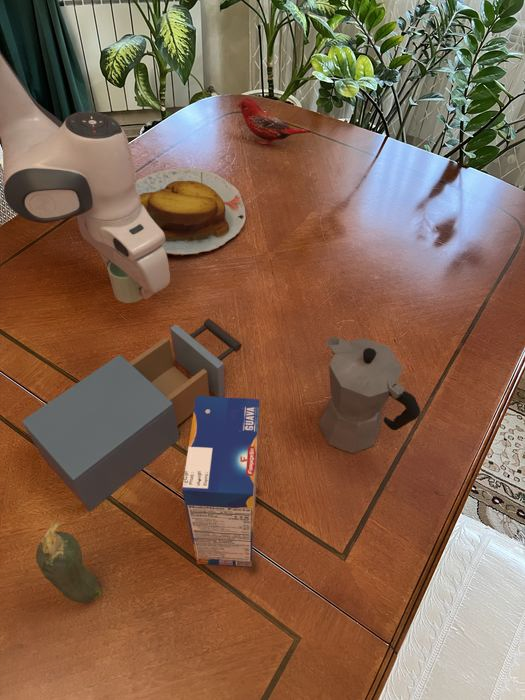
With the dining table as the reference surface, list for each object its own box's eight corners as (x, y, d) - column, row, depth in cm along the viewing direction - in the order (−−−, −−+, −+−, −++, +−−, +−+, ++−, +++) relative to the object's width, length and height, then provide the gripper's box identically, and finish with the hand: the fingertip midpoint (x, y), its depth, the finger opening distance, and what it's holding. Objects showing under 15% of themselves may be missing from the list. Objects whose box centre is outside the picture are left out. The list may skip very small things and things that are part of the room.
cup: (107, 291, 101) (100, 266, 96) (133, 275, 104) (128, 250, 99) (127, 308, 99) (121, 283, 94) (153, 291, 101) (149, 266, 97)
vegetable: (72, 617, 68) (20, 561, 52) (65, 582, 70) (13, 519, 55) (109, 601, 69) (69, 543, 53) (100, 568, 72) (59, 502, 56)
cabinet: (130, 392, 88) (119, 353, 80) (179, 439, 83) (173, 403, 76) (41, 456, 81) (20, 421, 73) (89, 512, 76) (72, 480, 69)
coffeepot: (295, 416, 86) (305, 340, 72) (337, 382, 90) (354, 304, 76) (374, 487, 79) (402, 418, 65) (416, 446, 83) (451, 373, 69)
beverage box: (197, 565, 72) (181, 490, 55) (206, 484, 79) (196, 395, 62) (251, 568, 72) (253, 494, 55) (256, 486, 79) (259, 398, 62)
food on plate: (222, 170, 124) (221, 143, 119) (265, 242, 110) (266, 215, 105) (106, 194, 118) (100, 167, 113) (135, 274, 104) (130, 247, 99)
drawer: (205, 338, 94) (202, 305, 88) (249, 374, 90) (250, 343, 83) (106, 409, 85) (95, 379, 79) (150, 454, 80) (142, 425, 74)
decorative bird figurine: (239, 134, 133) (239, 92, 125) (311, 153, 129) (315, 111, 121) (234, 140, 132) (233, 99, 124) (306, 159, 128) (310, 117, 120)
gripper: (59, 196, 91) (79, 260, 102) (138, 259, 83) (151, 322, 94) (92, 179, 94) (108, 244, 105) (172, 238, 85) (181, 302, 96)
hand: (129, 281), depth 99 cm, fingers open, 8 cm apart
